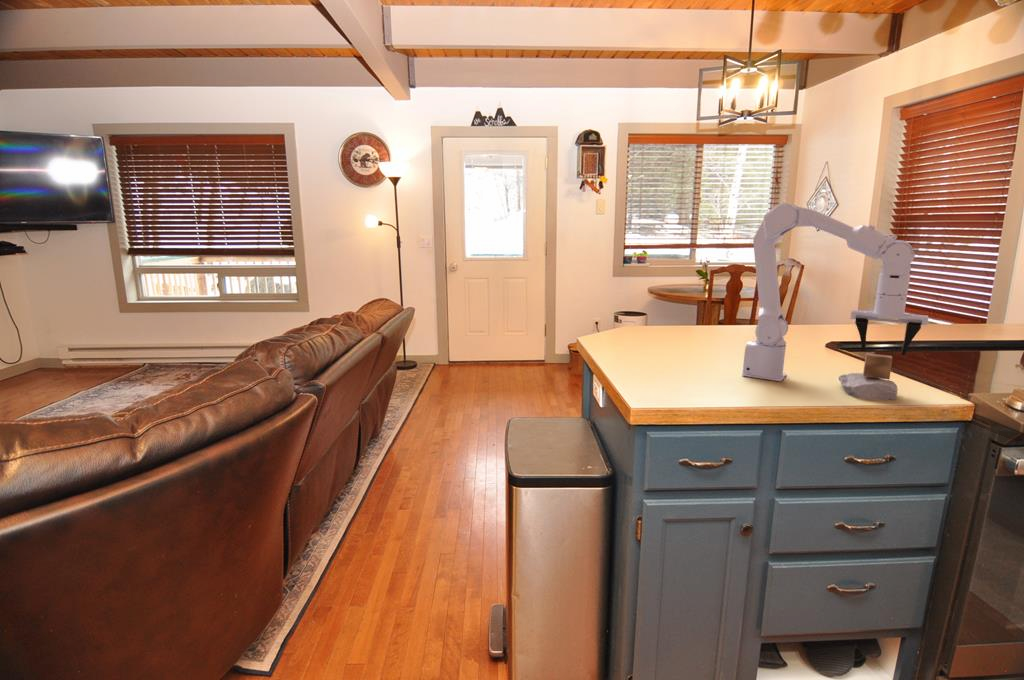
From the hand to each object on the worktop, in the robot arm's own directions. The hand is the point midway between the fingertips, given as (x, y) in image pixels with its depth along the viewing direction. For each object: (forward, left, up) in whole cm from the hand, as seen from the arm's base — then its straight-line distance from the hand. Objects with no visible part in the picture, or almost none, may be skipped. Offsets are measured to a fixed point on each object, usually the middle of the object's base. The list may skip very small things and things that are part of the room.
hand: (882, 352), depth 123 cm
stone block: (-3, -1, -10) cm, 11 cm away
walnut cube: (-1, 0, -6) cm, 6 cm away
